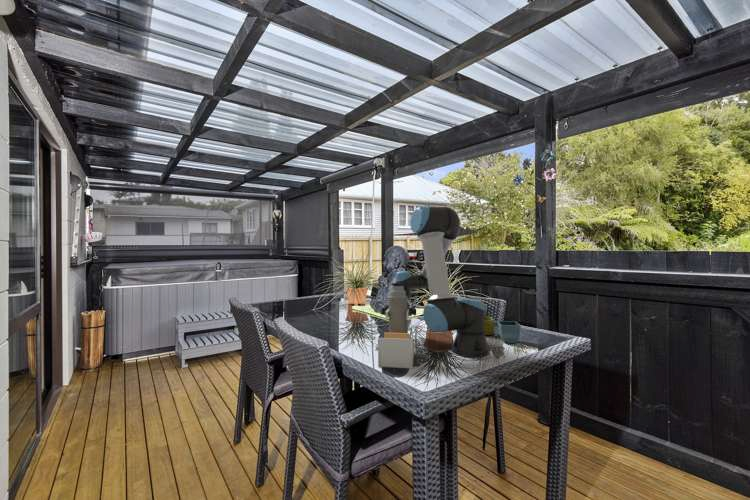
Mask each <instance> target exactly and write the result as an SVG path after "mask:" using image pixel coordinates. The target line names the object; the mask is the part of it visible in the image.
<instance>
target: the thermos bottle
mask: <svg viewBox="0 0 750 500" xmlns="http://www.w3.org/2000/svg"><path fill="white" fill-rule="evenodd" d="M403 285H404V284H403V283H396V282H393V283H392V284H391V286H392V288H391V290H390V291H389V294H390V295H388V306H389V317H388V333H408V319H406V312H407V296H406V291H405V290H404V287H403Z"/></svg>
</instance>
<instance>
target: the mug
mask: <svg viewBox="0 0 750 500" xmlns="http://www.w3.org/2000/svg"><path fill="white" fill-rule="evenodd" d="M494 334H495V321H494V318H493V317H491V316H485V335H486V336H487V335H491V336H493V335H494Z"/></svg>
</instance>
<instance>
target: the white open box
mask: <svg viewBox="0 0 750 500" xmlns="http://www.w3.org/2000/svg"><path fill="white" fill-rule="evenodd" d="M377 350H378V352H377V355H378V356H377V359H378V360H377V362H378V363H377V365H378V366H379V368H380V367H381V368H393V369H394V368H397V369H413V367H414V361H415V359H414V358H415V339H413V338H409V339H398V338H384V337H378V338H377ZM378 366H377V367H378Z"/></svg>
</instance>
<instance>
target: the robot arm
mask: <svg viewBox="0 0 750 500" xmlns="http://www.w3.org/2000/svg"><path fill="white" fill-rule="evenodd" d="M410 229H411V231H412V232H413V233H415V234H416V235H417V239H418V240H419V241H421V245H422V251H423V258H424V264H423V267H422V269H421V271H420V272H419V273H418V274H411V271H408V270H400V271H397V272H396V273H395V283H403V284H404V285H403V287H404V290H405V291H406V296H407V312H406V319H407V320H409V319H410V317H412V315H413V316H415V317H416V315H417V309H416V305H411V304H412V299H411V290H422V289H423V290H425V289H426V290H427V289H428V290H429V297H428V299H426V303H427V304H426V305H425V306H424V307H423V313H422V315H423V320H424V322H425V325H426V326H427V328H428V329H429V330H430V331H432V332H433V333H446V332H451V331H453V332H454V331H456V334H455V337H454V341H453V344H452V352H453V354H455V355H457V356H460V357H463V358H464V357H465V358H483V357H484V358H485V357H486V356H489V355H490V347H489V345H488V342H487V339H486V336H485V317H486V310H485V307H486V306H485V302H484V301H483V300H481V299H477V298H469V297H461V296H460V297H457V298H456V297H455V295H453V294H452V293H451V287H450V282H449V281H450V280H449V274H448V270H447V263H446V254H447V253H448V251H449V248H450V246H451V245H452V243H453V241H455V240H456V239H457V237H458V236H459V233H460V229H461V219H460V216H459V214H458V213H457V211H456V210H454V209H453V208H451V207H449V206H431V205H425V206H422V205H420V206H417V207H416V208H415V209H414V210H413V211H412V214H411V218H410ZM380 310H381V315H384V316H385V319H386V320H387V319H388V320H389V304H386V305H384V307H382V308H381V309H380Z"/></svg>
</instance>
